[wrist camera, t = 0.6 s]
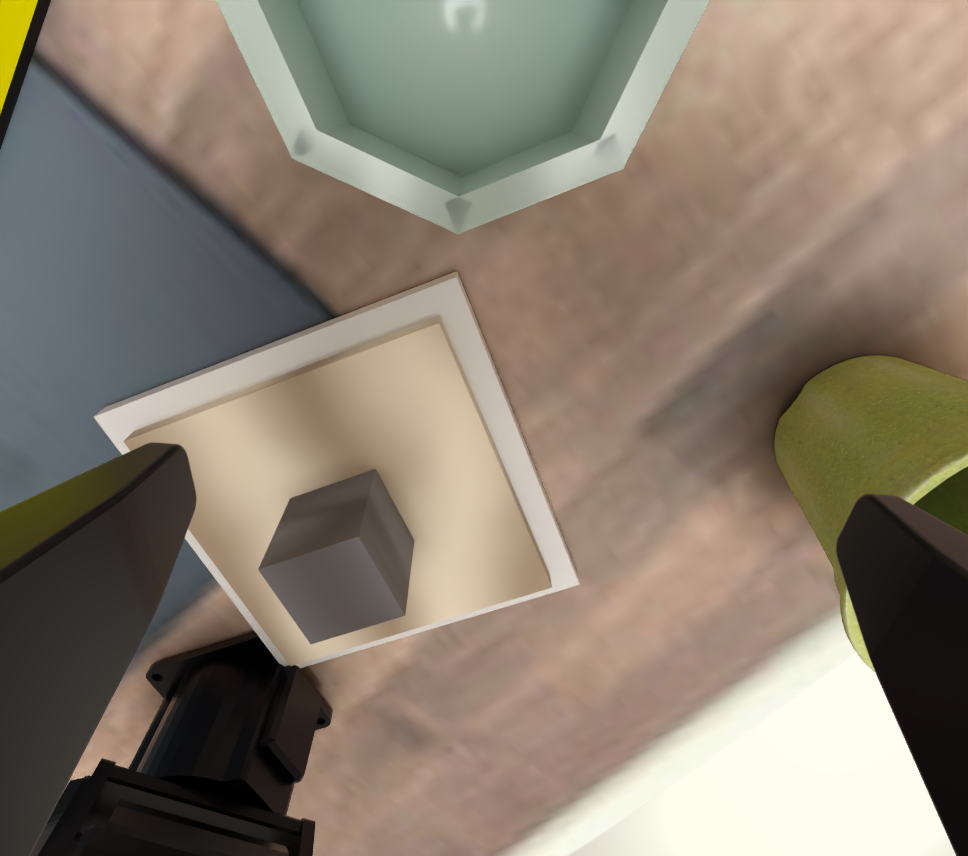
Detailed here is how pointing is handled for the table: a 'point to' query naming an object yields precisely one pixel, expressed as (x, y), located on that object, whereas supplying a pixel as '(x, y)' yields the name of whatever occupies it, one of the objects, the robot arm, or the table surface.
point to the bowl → (462, 92)
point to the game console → (16, 49)
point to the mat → (336, 338)
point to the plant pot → (875, 449)
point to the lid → (356, 496)
